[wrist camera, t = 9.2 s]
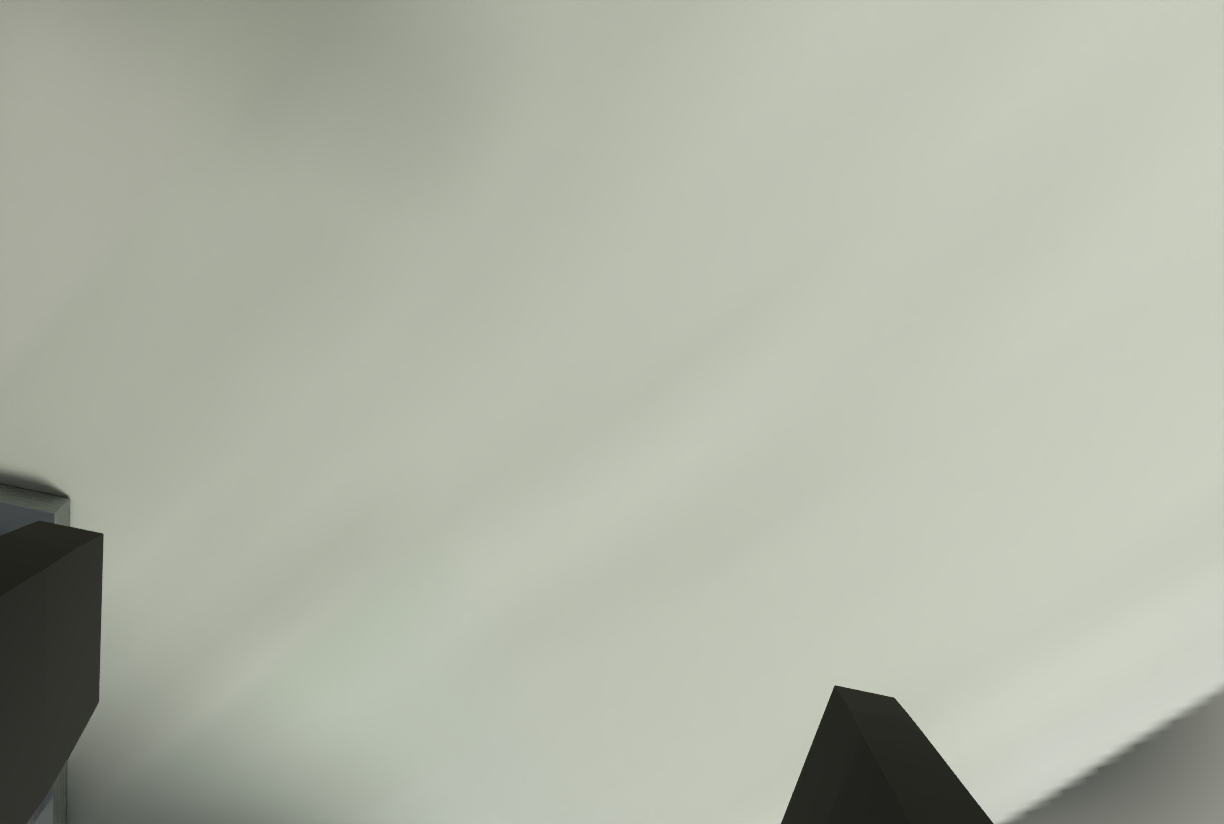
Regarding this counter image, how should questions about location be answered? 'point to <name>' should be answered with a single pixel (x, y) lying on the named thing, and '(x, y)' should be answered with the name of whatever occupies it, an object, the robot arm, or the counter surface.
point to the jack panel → (3, 514)
